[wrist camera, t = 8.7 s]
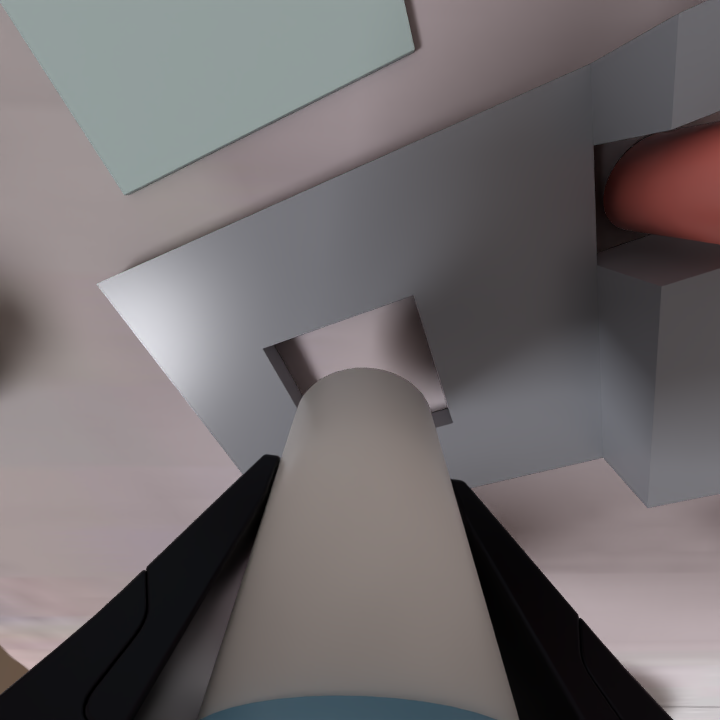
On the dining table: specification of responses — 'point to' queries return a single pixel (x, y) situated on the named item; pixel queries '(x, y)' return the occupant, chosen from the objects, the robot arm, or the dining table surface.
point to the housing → (478, 286)
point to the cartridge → (360, 575)
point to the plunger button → (669, 185)
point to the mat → (199, 68)
